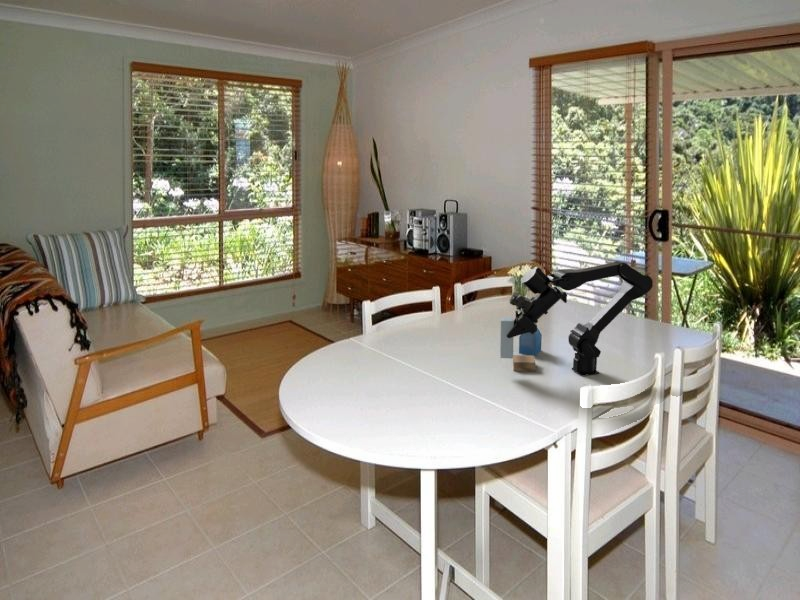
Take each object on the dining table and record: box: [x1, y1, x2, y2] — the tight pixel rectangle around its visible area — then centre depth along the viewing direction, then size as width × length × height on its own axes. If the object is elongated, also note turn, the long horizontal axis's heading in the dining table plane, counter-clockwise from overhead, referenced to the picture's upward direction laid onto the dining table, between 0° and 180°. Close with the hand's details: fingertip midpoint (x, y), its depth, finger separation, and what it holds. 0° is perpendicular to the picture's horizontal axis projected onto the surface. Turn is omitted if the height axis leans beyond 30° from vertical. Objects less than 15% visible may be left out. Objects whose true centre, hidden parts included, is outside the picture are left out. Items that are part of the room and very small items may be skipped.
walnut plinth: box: [512, 354, 536, 372], centre depth 189 cm, size 7×7×3 cm
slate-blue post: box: [499, 317, 514, 359], centre depth 181 cm, size 4×4×12 cm
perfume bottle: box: [518, 327, 543, 357], centre depth 204 cm, size 6×6×12 cm
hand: (507, 335), depth 181 cm, fingers closed on slate-blue post, 4 cm apart
